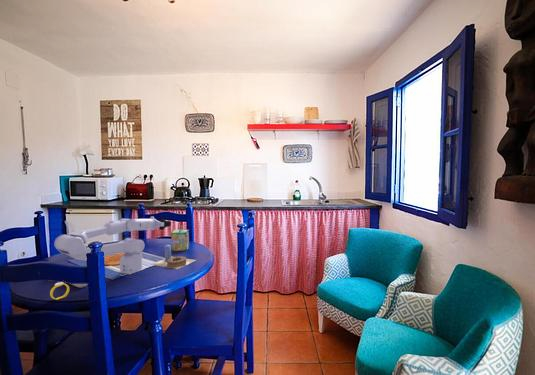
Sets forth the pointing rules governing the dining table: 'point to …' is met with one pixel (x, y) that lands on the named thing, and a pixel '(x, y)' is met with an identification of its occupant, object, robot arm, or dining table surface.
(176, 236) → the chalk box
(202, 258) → the dining table surface
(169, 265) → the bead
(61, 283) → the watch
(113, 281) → the dining table surface
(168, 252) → the peg
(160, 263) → the board
